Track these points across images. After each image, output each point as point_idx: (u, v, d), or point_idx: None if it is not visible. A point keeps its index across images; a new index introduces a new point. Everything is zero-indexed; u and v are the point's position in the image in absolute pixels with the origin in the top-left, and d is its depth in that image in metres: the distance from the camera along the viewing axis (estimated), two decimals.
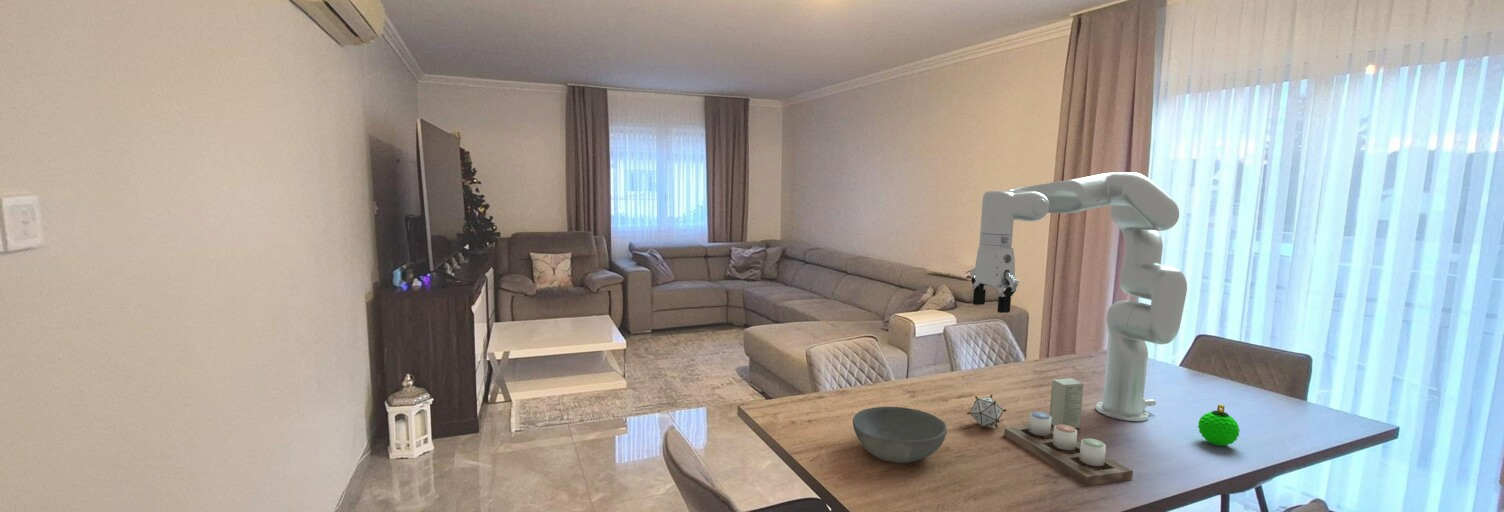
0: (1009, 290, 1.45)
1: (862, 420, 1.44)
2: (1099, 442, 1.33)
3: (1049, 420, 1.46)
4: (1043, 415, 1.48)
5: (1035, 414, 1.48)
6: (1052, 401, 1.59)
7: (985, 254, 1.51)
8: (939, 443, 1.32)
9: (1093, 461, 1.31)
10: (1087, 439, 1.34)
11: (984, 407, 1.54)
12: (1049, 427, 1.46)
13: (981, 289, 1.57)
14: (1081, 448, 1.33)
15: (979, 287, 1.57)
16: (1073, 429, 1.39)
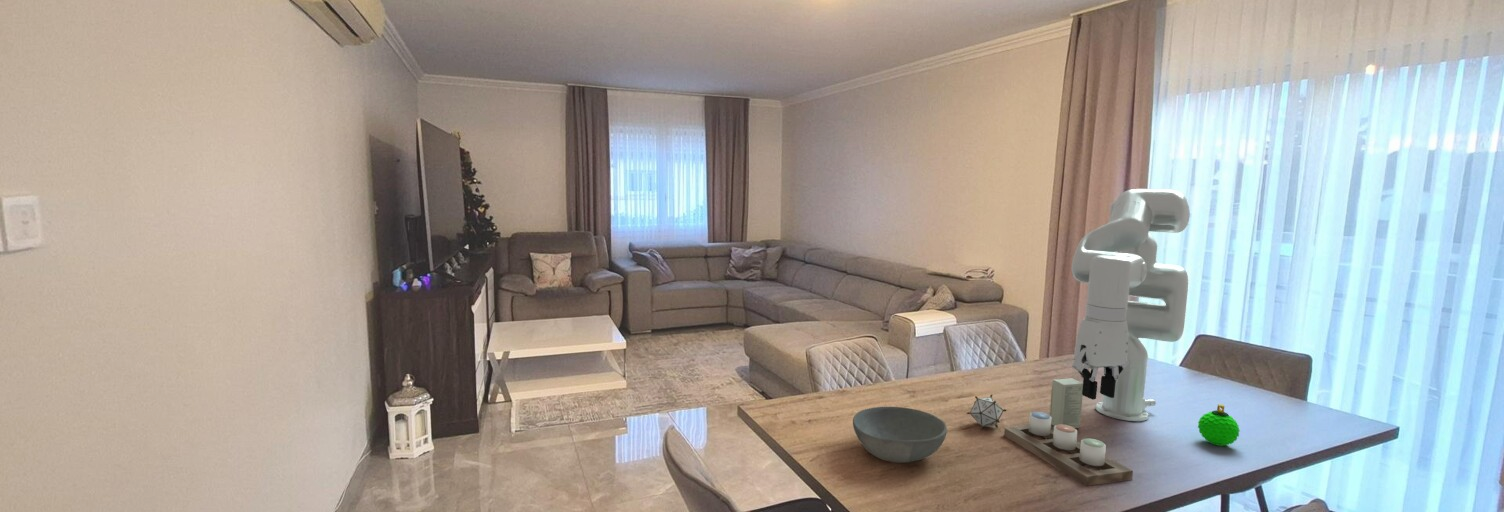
0: (1122, 369, 1.31)
1: (862, 420, 1.44)
2: (1099, 442, 1.33)
3: (1049, 420, 1.46)
4: (1043, 415, 1.48)
5: (1035, 414, 1.48)
6: (1052, 401, 1.59)
7: (1113, 332, 1.27)
8: (939, 443, 1.32)
9: (1093, 461, 1.31)
10: (1087, 439, 1.34)
11: (984, 407, 1.54)
12: (1049, 427, 1.46)
13: None
14: (1081, 448, 1.33)
15: None
16: (1073, 429, 1.39)
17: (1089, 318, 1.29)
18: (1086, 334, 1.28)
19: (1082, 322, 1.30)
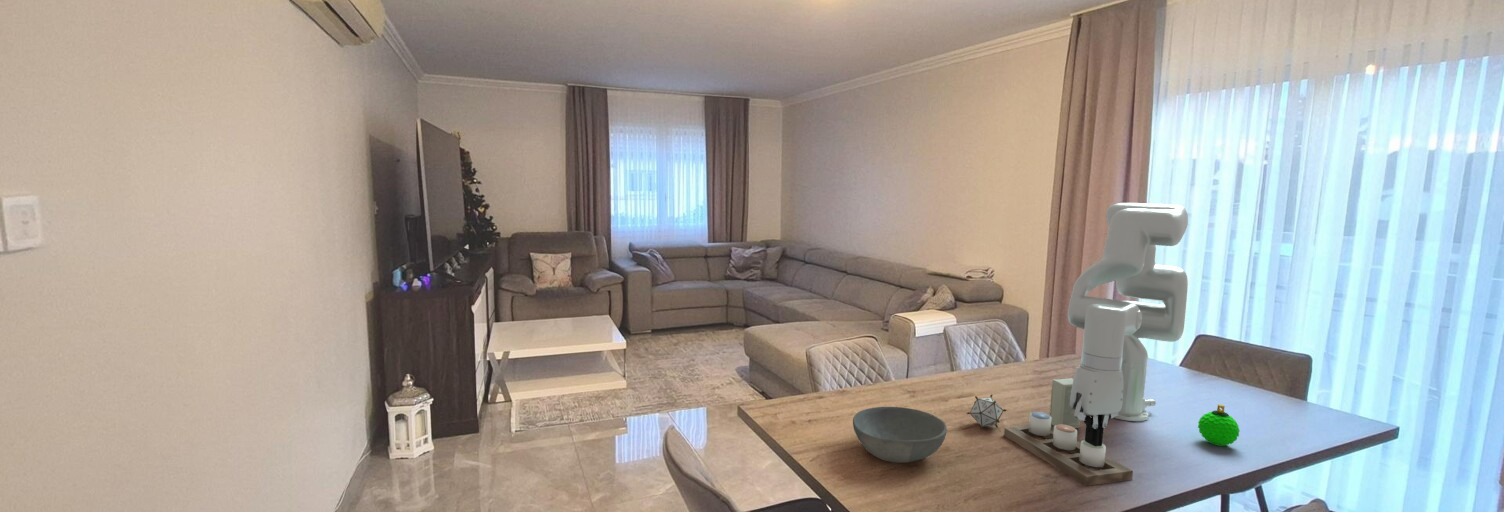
0: (1110, 417, 1.32)
1: (862, 420, 1.44)
2: None
3: (1049, 420, 1.46)
4: (1043, 415, 1.48)
5: (1035, 414, 1.48)
6: (1052, 401, 1.59)
7: (1108, 381, 1.28)
8: (939, 443, 1.32)
9: (1093, 463, 1.31)
10: None
11: (984, 407, 1.54)
12: (1049, 427, 1.46)
13: None
14: (1081, 449, 1.33)
15: None
16: (1073, 429, 1.39)
17: (1084, 366, 1.30)
18: (1081, 382, 1.29)
19: (1078, 370, 1.31)
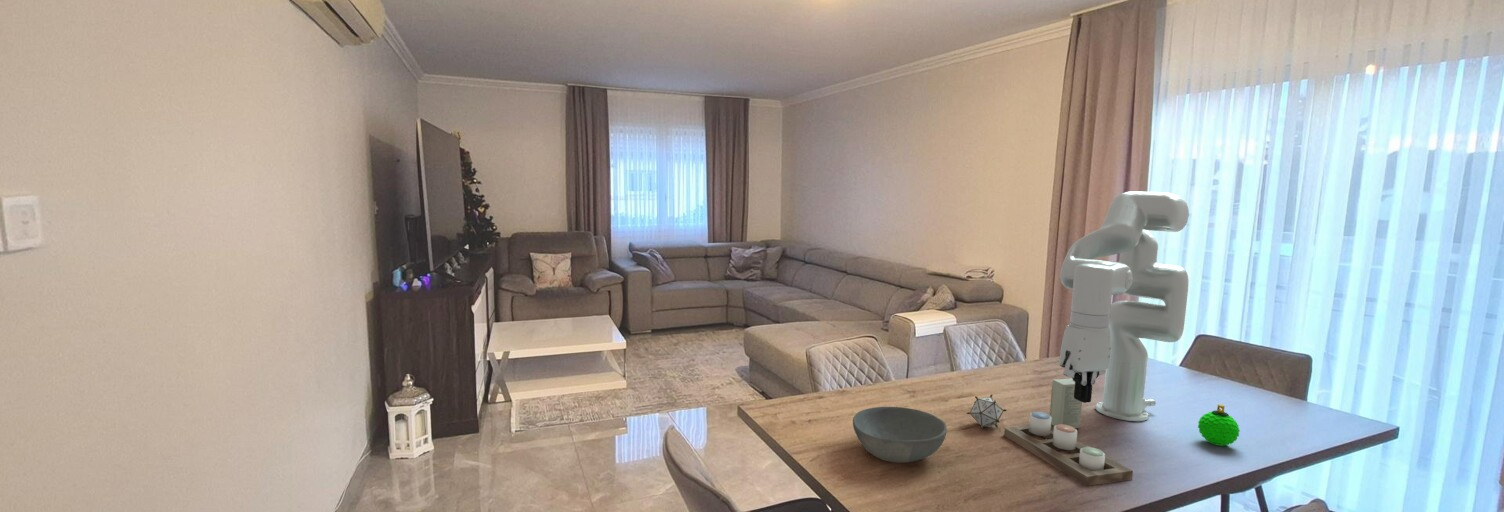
0: None
1: (862, 420, 1.44)
2: (1098, 451, 1.33)
3: (1049, 420, 1.46)
4: (1043, 415, 1.48)
5: (1035, 414, 1.48)
6: (1052, 401, 1.59)
7: (1096, 338, 1.31)
8: (939, 443, 1.32)
9: (1092, 470, 1.31)
10: (1086, 448, 1.34)
11: (984, 407, 1.54)
12: (1049, 427, 1.46)
13: None
14: (1080, 457, 1.33)
15: None
16: (1073, 429, 1.39)
17: (1073, 325, 1.33)
18: (1071, 340, 1.32)
19: (1067, 328, 1.34)
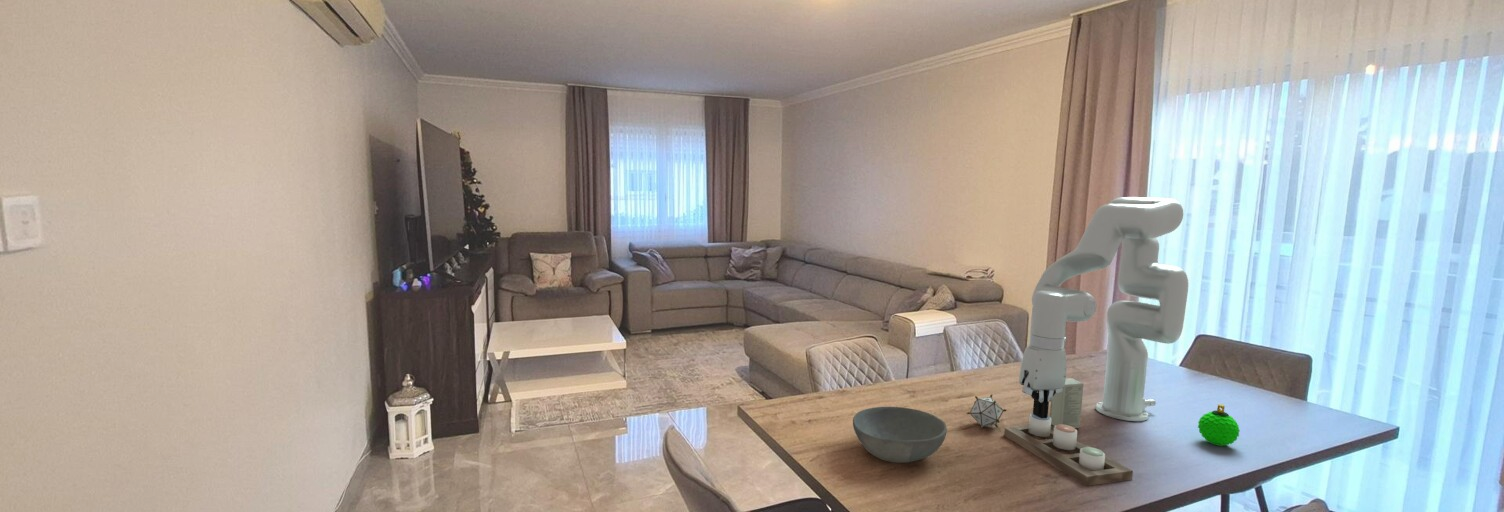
0: (1055, 392, 1.47)
1: (862, 420, 1.44)
2: (1098, 451, 1.33)
3: (1049, 421, 1.46)
4: None
5: (1035, 415, 1.48)
6: (1052, 401, 1.59)
7: (1052, 359, 1.44)
8: (939, 443, 1.32)
9: (1092, 470, 1.31)
10: (1086, 448, 1.34)
11: (984, 407, 1.54)
12: (1049, 428, 1.46)
13: None
14: (1080, 457, 1.33)
15: None
16: (1073, 429, 1.39)
17: (1032, 346, 1.45)
18: (1029, 361, 1.45)
19: (1026, 350, 1.46)
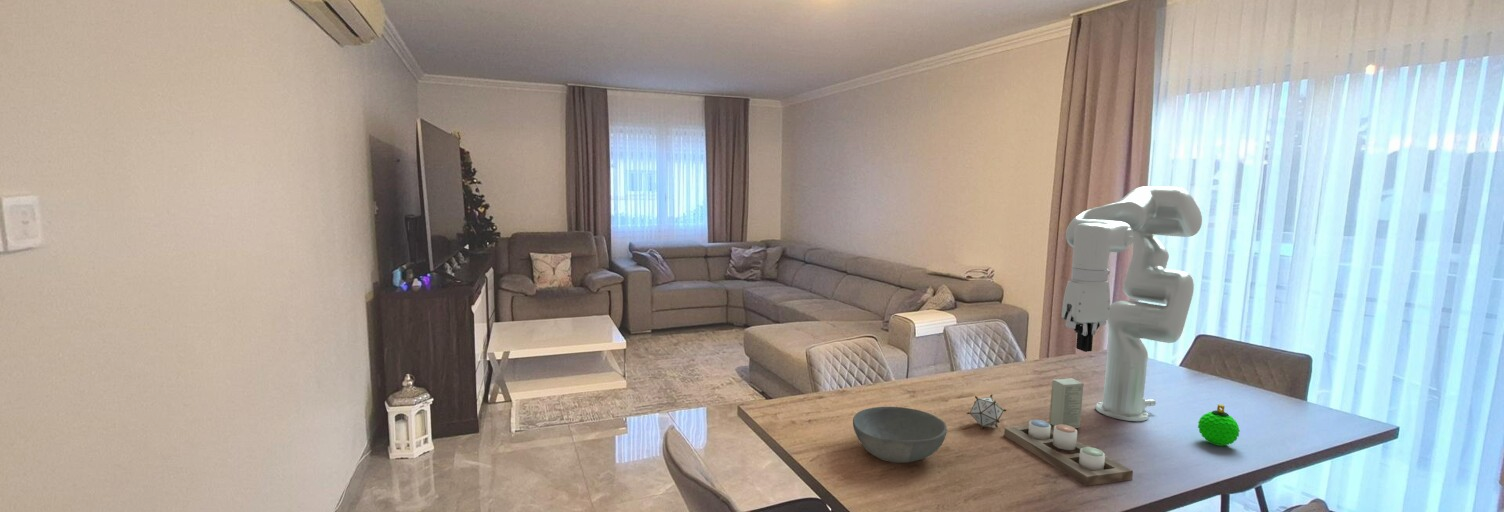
0: (1098, 326, 1.46)
1: (862, 420, 1.44)
2: (1098, 451, 1.33)
3: (1048, 428, 1.46)
4: (1042, 423, 1.48)
5: (1034, 422, 1.48)
6: (1052, 401, 1.59)
7: (1095, 291, 1.42)
8: (939, 443, 1.32)
9: (1092, 470, 1.31)
10: (1086, 448, 1.34)
11: (984, 407, 1.54)
12: (1048, 435, 1.47)
13: None
14: (1080, 457, 1.33)
15: None
16: (1073, 429, 1.39)
17: (1074, 280, 1.44)
18: (1071, 294, 1.43)
19: (1068, 283, 1.45)
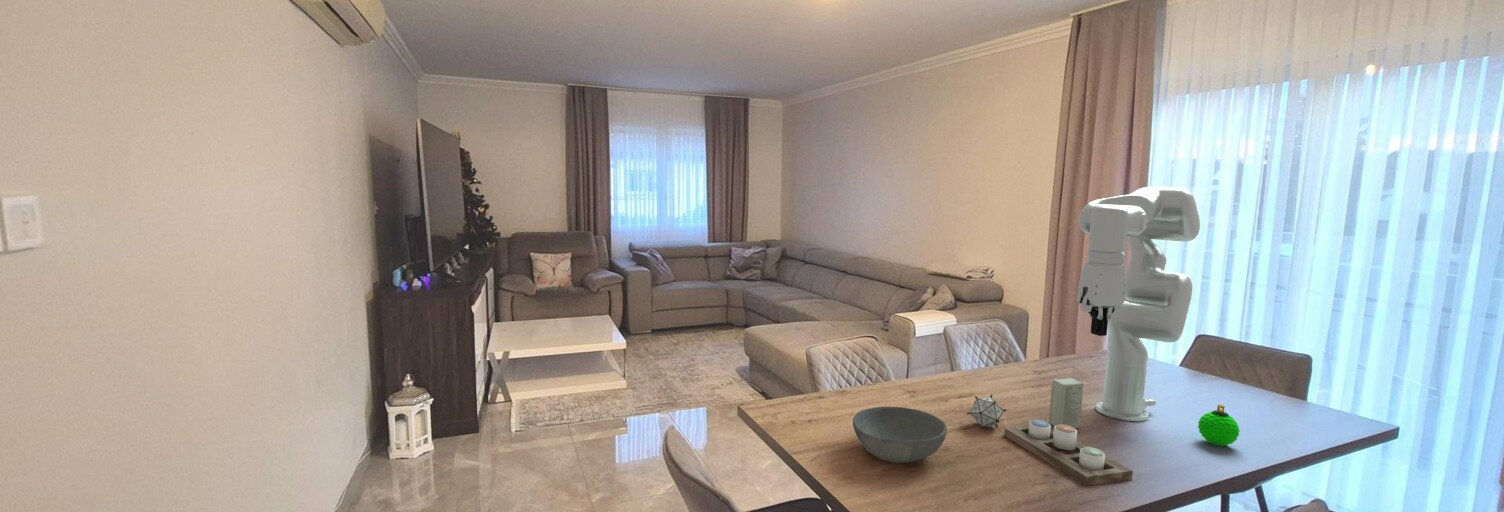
0: (1113, 310, 1.45)
1: (862, 420, 1.44)
2: (1098, 451, 1.33)
3: (1048, 428, 1.46)
4: (1042, 423, 1.48)
5: (1034, 422, 1.48)
6: (1052, 401, 1.59)
7: (1112, 274, 1.42)
8: (939, 443, 1.32)
9: (1092, 470, 1.31)
10: (1086, 448, 1.34)
11: (984, 407, 1.54)
12: (1048, 435, 1.47)
13: None
14: (1080, 457, 1.33)
15: None
16: (1073, 429, 1.39)
17: (1090, 263, 1.43)
18: (1088, 277, 1.43)
19: (1084, 266, 1.44)
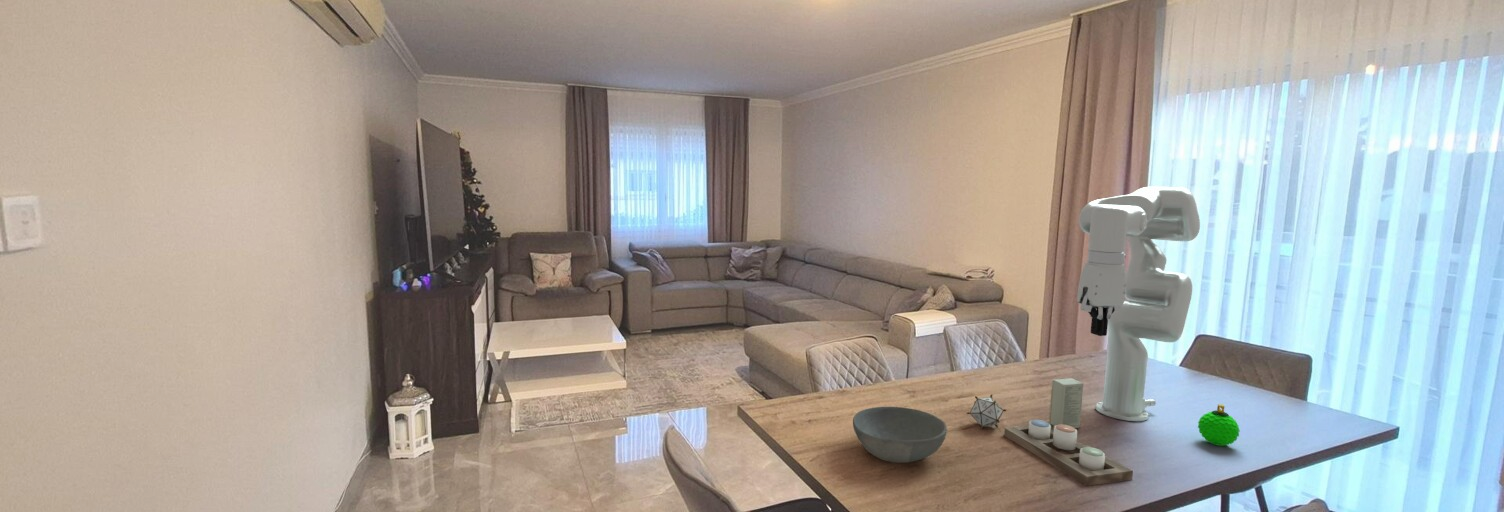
0: (1113, 310, 1.45)
1: (862, 420, 1.44)
2: (1098, 451, 1.33)
3: (1048, 428, 1.46)
4: (1042, 423, 1.48)
5: (1034, 422, 1.48)
6: (1052, 401, 1.59)
7: (1112, 274, 1.42)
8: (939, 443, 1.32)
9: (1092, 470, 1.31)
10: (1086, 448, 1.34)
11: (984, 407, 1.54)
12: (1048, 435, 1.47)
13: None
14: (1080, 457, 1.33)
15: None
16: (1073, 429, 1.39)
17: (1090, 263, 1.43)
18: (1088, 277, 1.43)
19: (1084, 266, 1.44)
